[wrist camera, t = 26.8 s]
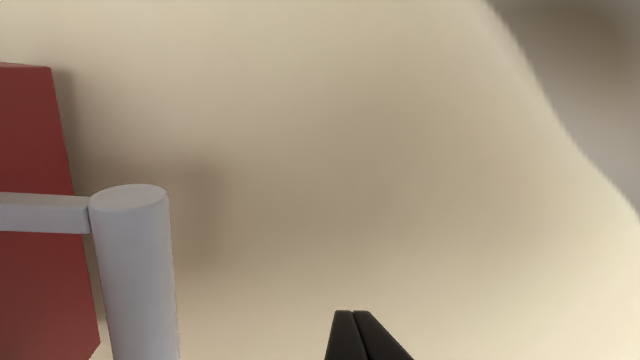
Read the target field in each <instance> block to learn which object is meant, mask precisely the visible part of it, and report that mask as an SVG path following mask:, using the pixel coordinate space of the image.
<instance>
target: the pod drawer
mask: <svg viewBox="0 0 640 360" xmlns="http://www.w3.org/2000/svg"><path fill="white" fill-rule="evenodd" d="M91 232H92V234H93V240H94V246H95V251H96V257H97V263H98V269H99V275H100V281H101V287H102V293H103V299H104V305H105V311H106V317H107V323H108V329H109V335H110V341H111V347H112V353H113V359H114V360H180V352H179V338H178V323H177V309H176V295H175V280H174V266H173V252H172V237H171V223H170V209H169V195H168V192H167V191H166V190H165V189H164V188H162V187H160V186H156V185H150V184H126V185H119V186H114V187H110V188H106V189H103V190H101V191H98V192H96V193H95V194H93V195H92V196H91V197H87V196H74V193H73V188H72V182H71V177H70V171H69V166H68V160H67V155H66V149H65V144H64V138H63V133H62V127H61V122H60V116H59V111H58V105H57V100H56V94H55V89H54V83H53V78H52V72H51V69H50V68H49V67H45V66H35V65H25V64H15V63H5V62H0V360H89V358H90V357H91V355H92V354H93V353H94V351H95V350H96V348H97V347H98V345H99V344H100V336H99V331H98V325H97V320H96V314H95V309H94V303H93V298H92V292H91V287H90V281H89V276H88V270H87V265H86V259H85V254H84V248H83V243H82V237H81V234H89V233H91Z"/></svg>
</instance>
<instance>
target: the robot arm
mask: <svg viewBox="0 0 640 360" xmlns="http://www.w3.org/2000/svg"><path fill="white" fill-rule="evenodd" d="M324 360H414V359H413V358H412V357H411V356H410V355H409V354H408V353H407V351H406V350H405V349H404V348H403V347H402V346H401V345H400V344H399V343H398V342H397V341H396V340H395V339H394V338H393V337H392V335H391V334H390V333H389V332H388V331H387V330H386V329H385V328H384V327H383V326H382V325H381V324H380V323H379V322H378V321H377V319H376V318H375V317H374V316H373V315H372V314H371V313H370V312H368V311H353V312H351V311H349V310H337V311H335V314H334V318H333V323H332V327H331V332H330V337H329V341H328V346H327V350H326V355H325V359H324Z"/></svg>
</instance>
